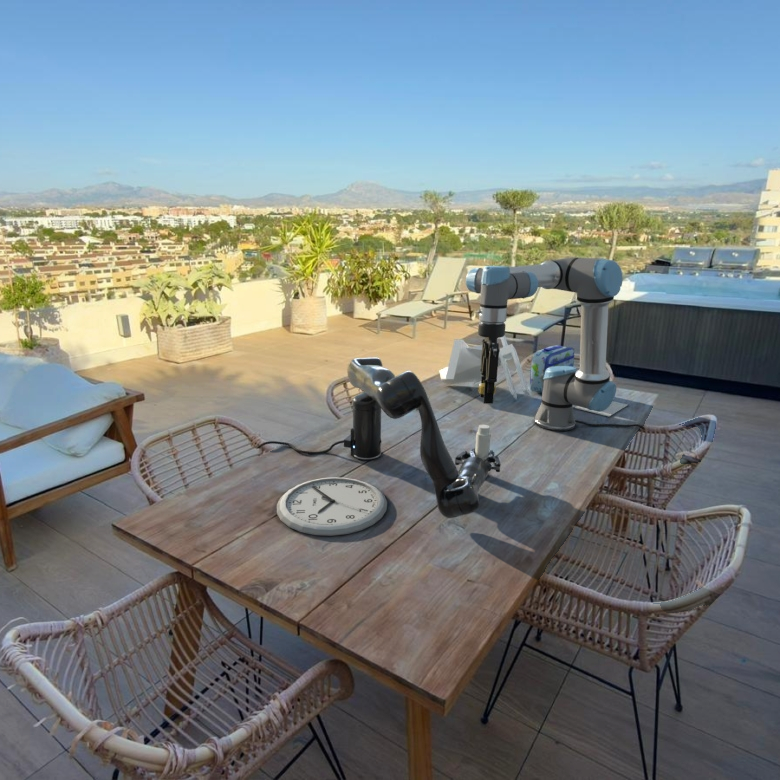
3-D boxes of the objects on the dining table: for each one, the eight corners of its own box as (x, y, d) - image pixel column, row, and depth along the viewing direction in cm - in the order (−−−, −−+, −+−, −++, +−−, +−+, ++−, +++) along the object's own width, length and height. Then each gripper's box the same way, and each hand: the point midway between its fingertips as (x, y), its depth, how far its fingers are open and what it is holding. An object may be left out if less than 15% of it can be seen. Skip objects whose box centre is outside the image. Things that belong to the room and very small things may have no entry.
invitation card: (608, 416, 214) (573, 407, 224) (608, 416, 214) (573, 408, 224) (628, 404, 229) (594, 396, 238) (628, 405, 229) (594, 397, 238)
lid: (477, 389, 156) (478, 382, 156) (494, 390, 156) (494, 382, 155) (479, 394, 152) (479, 387, 151) (496, 395, 152) (497, 387, 151)
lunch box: (546, 398, 236) (551, 353, 229) (525, 393, 243) (529, 349, 237) (573, 387, 253) (579, 344, 247) (553, 382, 260) (558, 341, 254)
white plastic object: (461, 429, 252) (437, 405, 227) (444, 352, 274) (420, 323, 250) (535, 404, 240) (518, 377, 215) (510, 326, 262) (492, 293, 237)
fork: (413, 411, 216) (413, 406, 216) (424, 399, 231) (424, 395, 230) (419, 411, 216) (419, 407, 215) (429, 400, 230) (429, 396, 229)
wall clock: (392, 527, 129) (268, 531, 127) (391, 533, 130) (269, 537, 127) (383, 473, 158) (282, 475, 155) (383, 478, 158) (282, 480, 156)
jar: (483, 479, 159) (487, 430, 154) (471, 475, 161) (474, 426, 157) (489, 474, 162) (493, 425, 158) (477, 470, 165) (480, 422, 160)
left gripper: (498, 466, 144) (507, 444, 159) (448, 458, 148) (461, 436, 164) (496, 491, 146) (505, 466, 161) (446, 482, 151) (460, 458, 166)
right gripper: (473, 316, 156) (469, 390, 163) (484, 327, 139) (478, 410, 146) (498, 316, 156) (493, 391, 163) (512, 328, 139) (505, 410, 146)
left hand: (483, 451), depth 162 cm, fingers closed on jar, 4 cm apart
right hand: (486, 400), depth 155 cm, fingers closed on lid, 5 cm apart
